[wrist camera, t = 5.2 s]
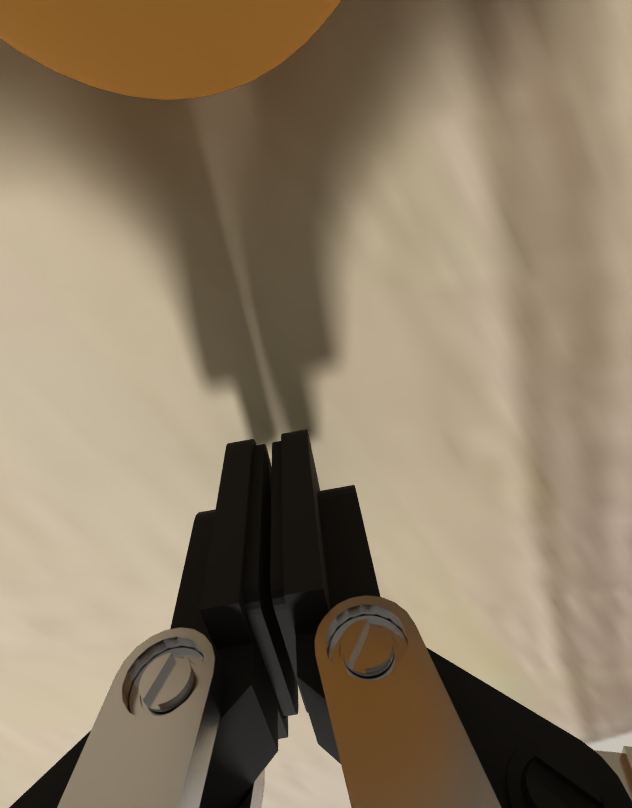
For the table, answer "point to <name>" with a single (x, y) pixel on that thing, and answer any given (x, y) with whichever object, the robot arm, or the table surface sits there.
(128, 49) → the ball
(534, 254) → the table surface
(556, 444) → the table surface
